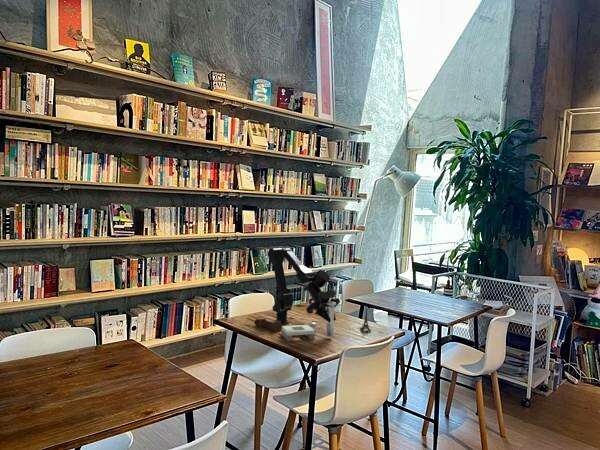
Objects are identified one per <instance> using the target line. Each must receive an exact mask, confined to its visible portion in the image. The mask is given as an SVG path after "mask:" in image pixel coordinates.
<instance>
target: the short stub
mask: <svg viewBox="0 0 600 450" xmlns="http://www.w3.org/2000/svg"><path fill="white" fill-rule="evenodd" d="M307 325H309V326H310V327H311V328H312V329H313V330H315V334H316V331H317V330H316V329H317V326H318V322H316V321H308V323H307Z"/></svg>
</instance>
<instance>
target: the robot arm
mask: <svg viewBox="0 0 600 450" xmlns="http://www.w3.org/2000/svg"><path fill="white" fill-rule="evenodd" d="M267 258H268V261H269V262H270V263H271V264H272V266H273V272H274V278H275V283H276V289H277V295H276V298H275V300H276V301H275V303H274V304H273V306H272V311H273V312H275V313H276V314H275V319H274V320H273V321H274V322H276V321H280V322H281V324H282V325H284V324H285V325H286V324H288V325H289V324H290V322H289V321H288V312H289V311H291V310H292V307H293V305H294V301H295V300H294V298H293V297H294V296H293V293H290V292H289V291H288V287H287V282H286V276H285V270H284V264H283V263H284V261H285V260H286V261H287V262H288V264H289V265H290V266H291V267H292V268H293V270H294V271H295V273H296V278H297V279H298V282H299V283H300V284H305V285H304V287H303V292H306V291H308V293H309V295H310V301H313V302H311V303H310V304H309V305H308V306H307V307H306V313H307V314H308V315H311V314H313V313H314V315H317V316H319V317H321V318H322V319H324V320H325V321H326V322H327V321H328V322H331V320H330V318H329V316H328V314H327V309H328V305H327V304H326V302H336V305H335V306H334V309H335V308H336V307H337V306H338V305H339V304H340V303H341V300H340V299H339V298H338V297H336V296H337V291H336V290H335V289H334V288H331V289H329V290H328V291H323V290H322V288H324V287H325V285H327V283H328V282H329V281H330V279H331V277H330V274H328V273H327V272H325V271H324V270H323V269H318V271H317V272H316V273H315V272H313V271H312V269H310V268H308V267H307V266H306V265H304V264H303V263H302V261H301V260H299V258H298V257H297V256H296V255H295V253H294V252H293V250H292V248H282V247H272V248H271V247H270V248H269V249H268V251H267ZM335 297H336V298H335ZM314 311H315V312H314ZM336 320H337V319H336V314H335V312H334V322H336Z"/></svg>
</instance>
